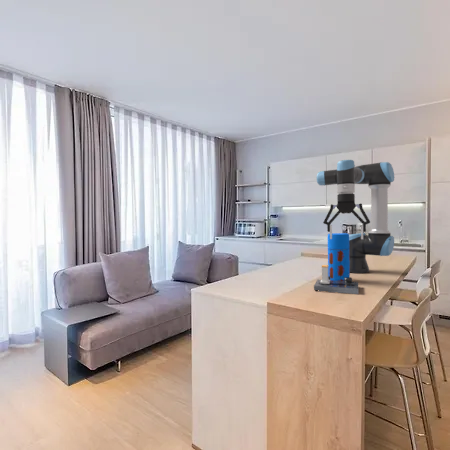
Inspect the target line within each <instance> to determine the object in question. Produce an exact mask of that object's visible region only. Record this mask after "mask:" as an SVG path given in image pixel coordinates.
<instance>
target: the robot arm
mask: <svg viewBox="0 0 450 450" xmlns="http://www.w3.org/2000/svg"><path fill="white" fill-rule="evenodd" d="M392 165H393V164H391V162H388V161H381V162H374V163H368V164H361V165H357V166H356V165H355V160H353V159H344V160H338V162H337V163H336V166H337V167H336V169H329V170H322V171H319V172H318V173H317V174H316V182H317V184H318V185H319V186H332V185H333V186H334V185H336V186H337V187H336V189H337V191H336V192H337V196H336V197H337V198H336V199H337V200H336V201H337V204H330V205H329V206H330V208H329V210H328V212H327V215H326V216H325V219H324V221H323V225H326V226H327V227H326V228H327V230H326V231H327V233H328V232H329V234H330V239H332V233H333V225H332V223H333V221H335V219H336V218H338V216H339V215H340V214H352V215H354V216H355V218H356V219H358V221H360V223H361V224H360V228H361V229H360V232H359V233H351V234H350V233H349V252H350V272H352V273H351V274H365V273H369V272H370V267H369V264H368V261H367V259H366V257H367V256H378V257H379V256H380V257H388V256H390V255H391V254H392V253H393V250H394V248H395V237H394V236H393V235H391V231H389V230H388V224H389V221H388V219H389V218H388V217H389V216H388V208H389V207H388V202H389V201H388V197H389V195H388V194H389V193H388V191H389V188H390V187H391V183H393V182H394V181H395V171H394V167H393V166H392ZM355 185H368V188H369V189H370V193H371V194H370V195H371V197H370V198H371V200H370V203H371V206H370V211H371V213H370V219H369V217H368V215H367V214H366V212H365V210H364V208H363V204H362V203H357V204H356V203H355V202H356V200H355V198H356V197H355V191H356V187H355ZM356 207H357V209H359V211H360V213H361V214H362V216H363V218H364V219H363V218H362V217H361V216H360V215H359V214H358V213H357V212H356V211H355V209H356ZM335 209H337V212H336V213H335V214H334V215H333V216H332V218H331V219H330V220H329V218H330V217H331V214H332V213H333V210H335ZM368 224H370V230H369V231H368V235H367V234H366V232H367V225H368Z"/></svg>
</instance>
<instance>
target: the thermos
mask: <svg viewBox="0 0 450 450" xmlns="http://www.w3.org/2000/svg"><path fill="white" fill-rule="evenodd" d="M349 235H350V233H344V232H342V233H341V232H340V233H337V232H335V233H333V232H332V239H330V233H328V234H327V265H329V266H328V276H330V280H333V281H344V277H351V276H350V274H351V273H350V252H349Z"/></svg>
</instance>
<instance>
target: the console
mask: <svg viewBox="0 0 450 450" xmlns="http://www.w3.org/2000/svg"><path fill="white" fill-rule="evenodd" d="M328 279H329V280H330V276H328ZM321 280H322V279H317V280H316V282H315V283H314V285H313V291H314V290H319V291H318V292H321V291H328V292H327V293H335V292H338V294H350V295H351V294H352V295H359V282H358V281H353V277H351V276H350V277H344V281H333V280H330V283H329V284H322V283H320V281H321Z"/></svg>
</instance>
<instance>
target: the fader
mask: <svg viewBox="0 0 450 450" xmlns="http://www.w3.org/2000/svg"><path fill="white" fill-rule="evenodd" d="M328 266H329V265H328V264H322V265H321V279H320V280H321V281H320V283H322V284H329V283H330V280H329V279H328Z"/></svg>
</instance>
